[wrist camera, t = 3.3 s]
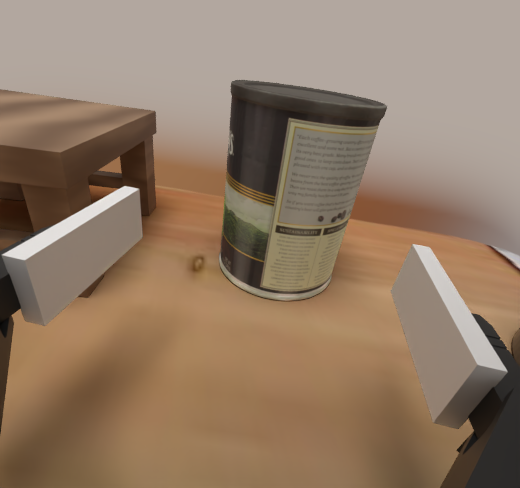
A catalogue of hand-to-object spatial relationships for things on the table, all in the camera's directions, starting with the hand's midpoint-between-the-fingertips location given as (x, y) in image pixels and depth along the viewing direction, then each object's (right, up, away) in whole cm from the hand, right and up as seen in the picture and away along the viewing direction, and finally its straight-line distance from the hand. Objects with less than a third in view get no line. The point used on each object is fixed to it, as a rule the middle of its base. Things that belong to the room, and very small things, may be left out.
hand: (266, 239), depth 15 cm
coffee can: (+1, -2, +13) cm, 13 cm away
